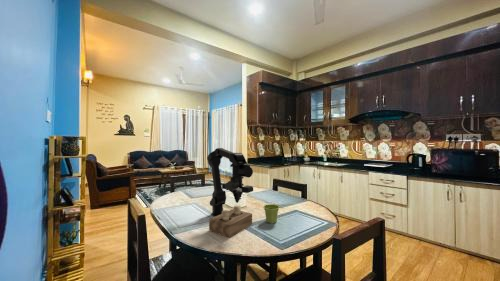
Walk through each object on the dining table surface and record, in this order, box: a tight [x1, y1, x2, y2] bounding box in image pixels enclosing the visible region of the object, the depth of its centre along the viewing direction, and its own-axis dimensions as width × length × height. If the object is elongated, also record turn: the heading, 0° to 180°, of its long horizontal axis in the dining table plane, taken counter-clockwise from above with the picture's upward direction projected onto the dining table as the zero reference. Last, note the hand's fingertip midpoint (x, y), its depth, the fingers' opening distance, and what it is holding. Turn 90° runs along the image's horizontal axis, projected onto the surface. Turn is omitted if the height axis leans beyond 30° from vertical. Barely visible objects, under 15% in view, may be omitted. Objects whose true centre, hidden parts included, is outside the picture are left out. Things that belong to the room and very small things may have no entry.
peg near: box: [222, 209, 230, 222], centre depth 108 cm, size 4×4×5 cm
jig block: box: [208, 208, 253, 238], centre depth 112 cm, size 14×20×6 cm
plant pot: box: [263, 203, 280, 224], centre depth 120 cm, size 9×9×9 cm
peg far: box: [233, 205, 242, 216], centre depth 116 cm, size 4×4×5 cm
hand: (237, 202), depth 116 cm, fingers closed
